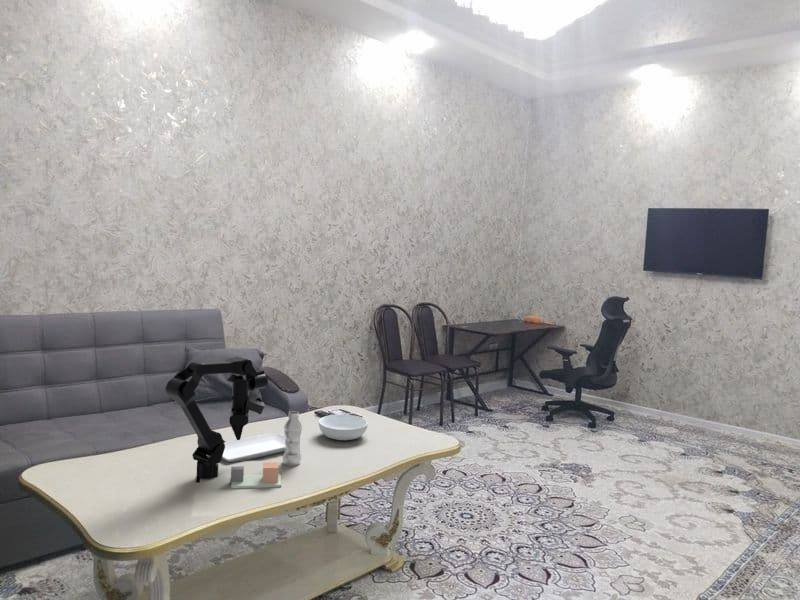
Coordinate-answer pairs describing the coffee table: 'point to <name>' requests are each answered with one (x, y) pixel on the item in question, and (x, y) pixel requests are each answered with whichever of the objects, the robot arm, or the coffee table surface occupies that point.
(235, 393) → the robot arm
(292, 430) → the plastic bottle
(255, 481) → the pale green platform
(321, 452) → the coffee table surface
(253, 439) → the tray
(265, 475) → the terracotta block
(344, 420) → the serving bowl
